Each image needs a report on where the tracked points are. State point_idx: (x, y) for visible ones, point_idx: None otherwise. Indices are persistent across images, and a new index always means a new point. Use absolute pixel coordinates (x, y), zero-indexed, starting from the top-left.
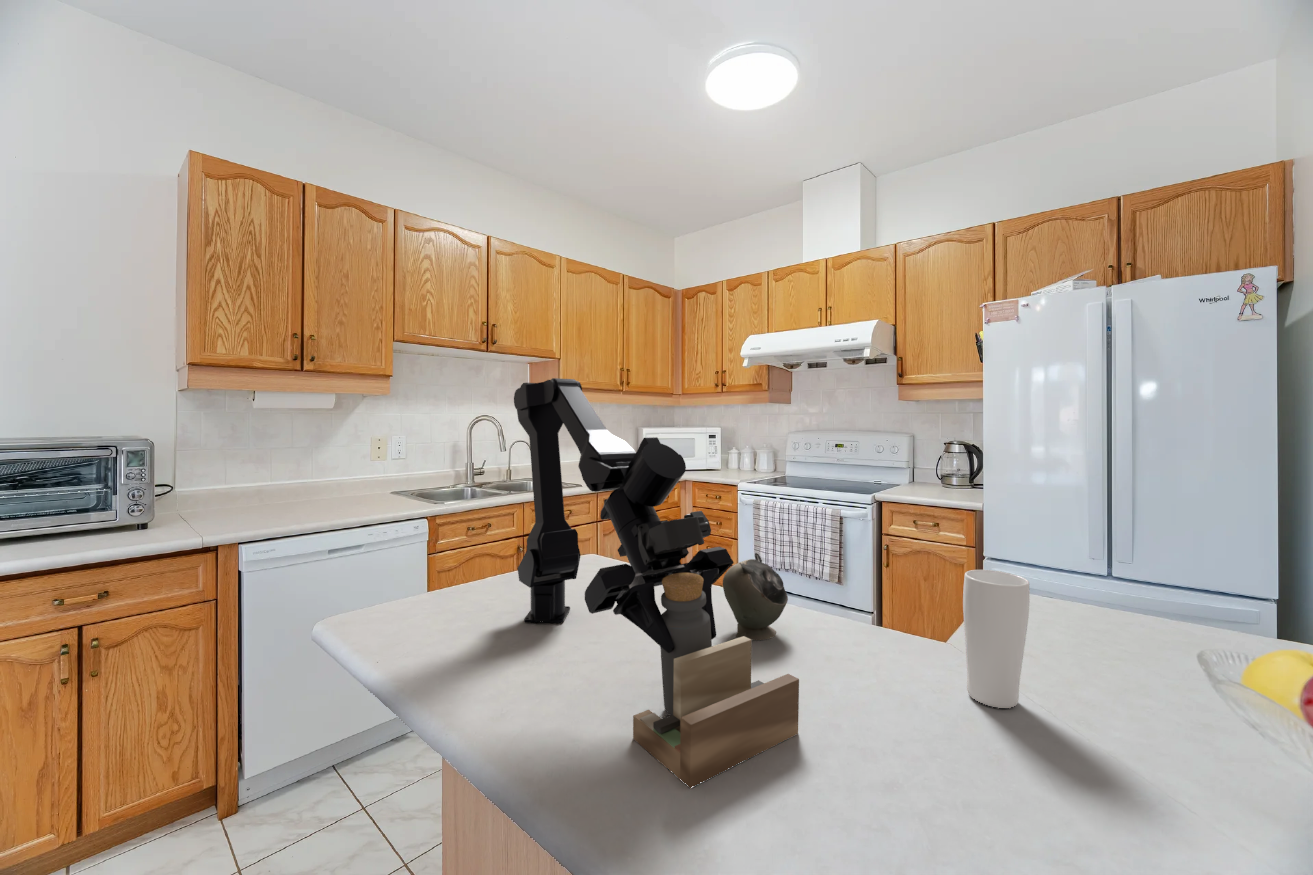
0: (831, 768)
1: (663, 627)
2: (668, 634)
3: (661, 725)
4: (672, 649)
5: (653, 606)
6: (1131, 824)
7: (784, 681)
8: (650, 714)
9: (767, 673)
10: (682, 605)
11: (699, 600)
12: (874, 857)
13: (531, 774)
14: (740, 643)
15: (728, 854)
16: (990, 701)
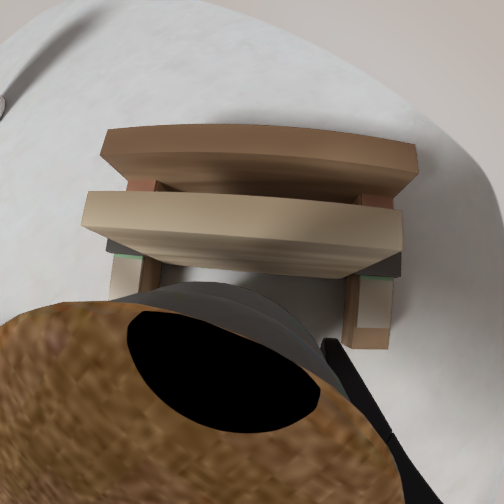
0: (190, 106)
1: (357, 401)
2: (338, 376)
3: (395, 256)
4: (332, 338)
5: None
6: (114, 4)
7: (133, 136)
8: (367, 325)
9: None
10: (315, 354)
11: (162, 297)
12: (283, 35)
13: (500, 350)
14: (130, 191)
15: (397, 105)
16: (2, 104)
